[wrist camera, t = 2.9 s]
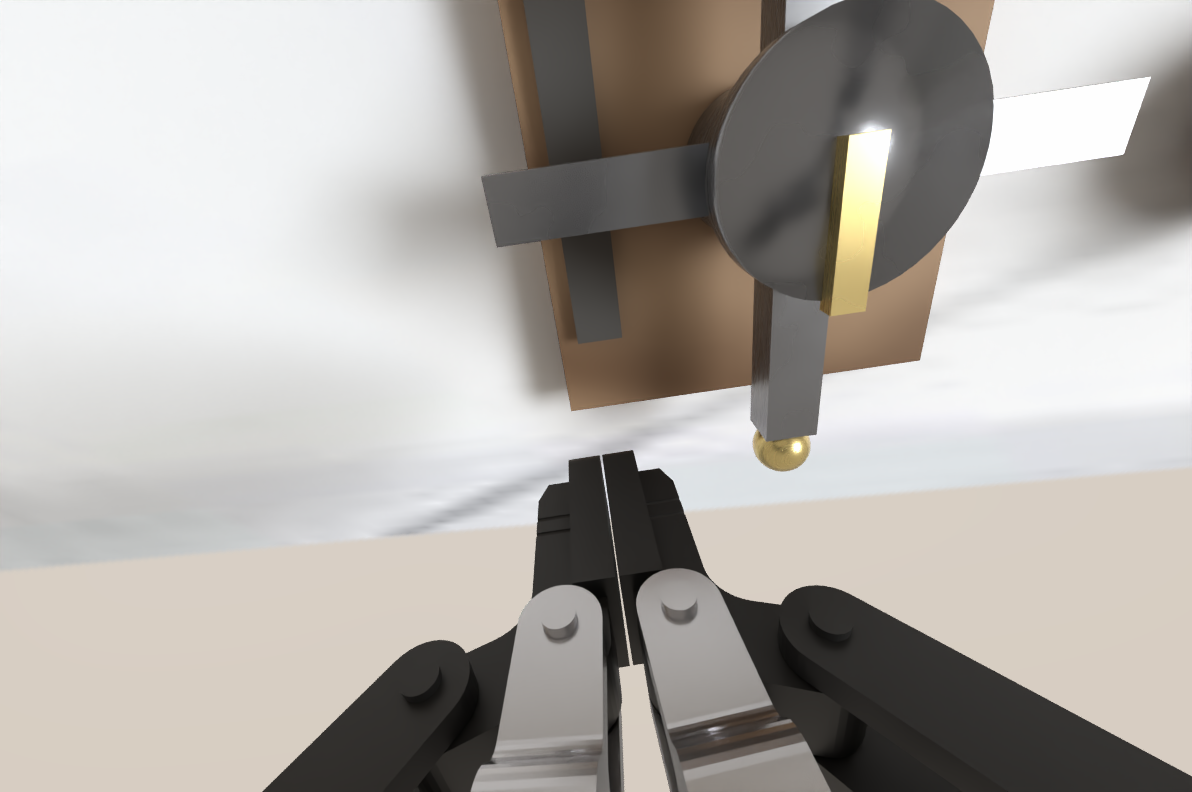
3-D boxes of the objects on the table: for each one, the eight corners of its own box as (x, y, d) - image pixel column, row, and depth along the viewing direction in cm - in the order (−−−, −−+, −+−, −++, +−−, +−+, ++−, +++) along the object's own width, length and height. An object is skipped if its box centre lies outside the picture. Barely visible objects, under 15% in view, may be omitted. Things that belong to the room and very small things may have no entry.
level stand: (481, -119, 13) (462, -182, 11) (980, -195, 13) (1075, -276, 10) (570, 388, 20) (571, 419, 18) (888, 342, 20) (932, 367, 18)
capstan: (435, -153, 11) (309, -456, 6) (1089, -253, 11) (1611, -661, 5) (557, 447, 19) (554, 564, 13) (937, 391, 19) (1090, 487, 13)
